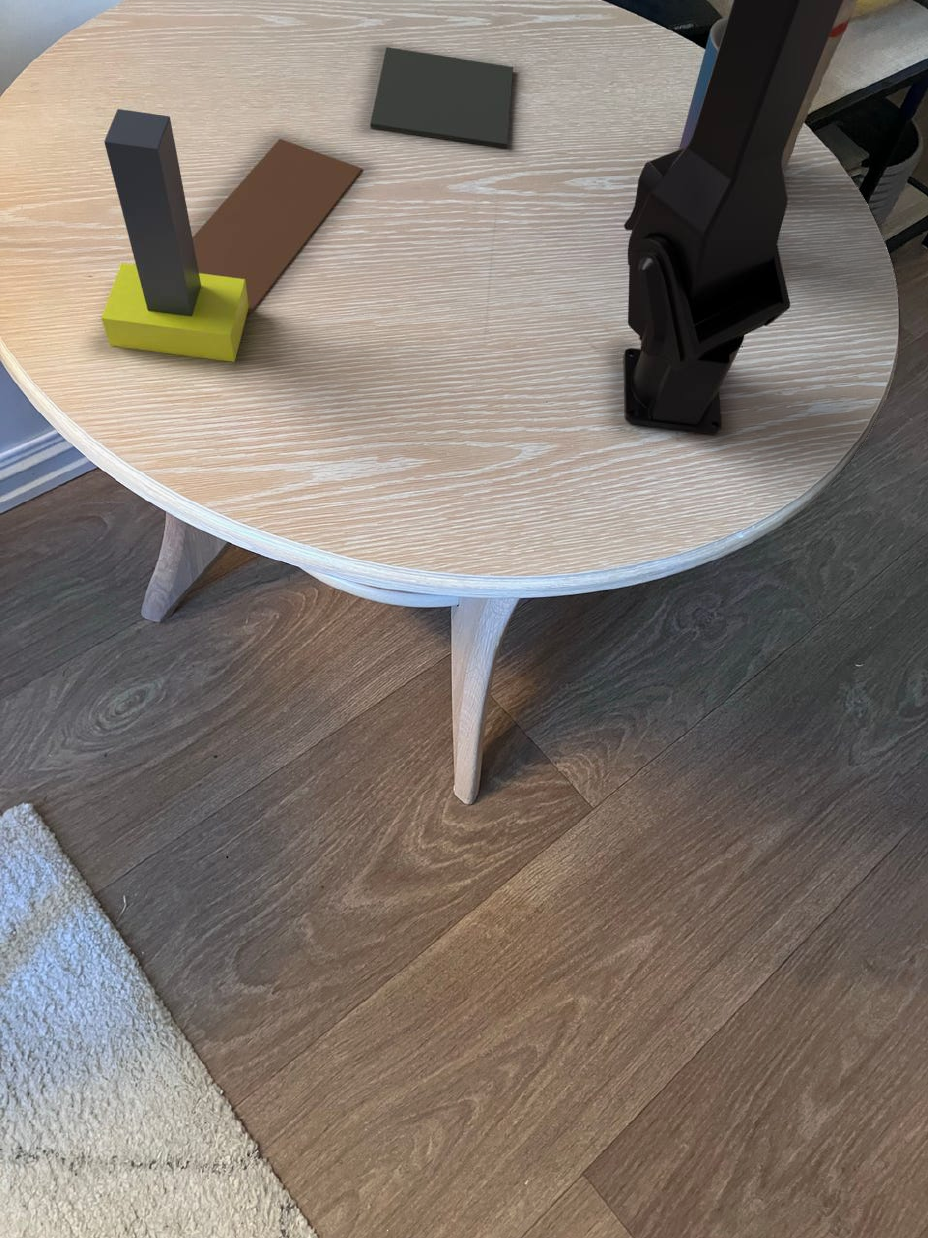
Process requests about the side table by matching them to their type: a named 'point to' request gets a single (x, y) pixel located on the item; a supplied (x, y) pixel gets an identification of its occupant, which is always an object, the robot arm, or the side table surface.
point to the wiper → (164, 254)
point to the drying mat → (443, 98)
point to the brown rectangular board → (271, 216)
